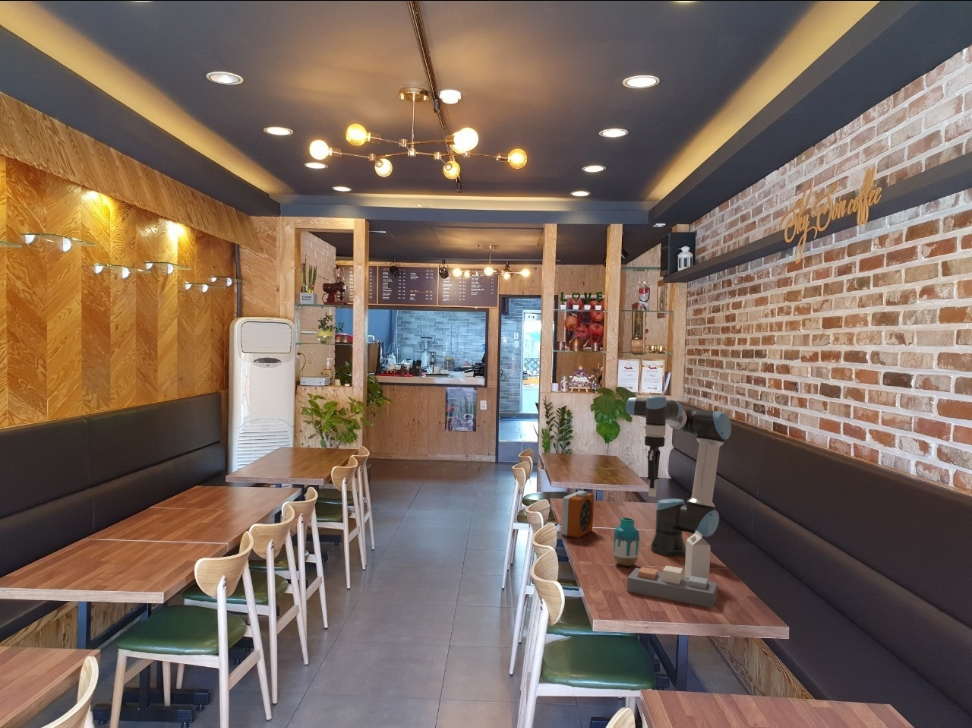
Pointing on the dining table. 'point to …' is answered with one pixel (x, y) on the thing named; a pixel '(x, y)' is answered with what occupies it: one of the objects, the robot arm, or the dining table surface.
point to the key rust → (648, 573)
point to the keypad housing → (672, 589)
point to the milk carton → (697, 556)
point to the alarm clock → (577, 514)
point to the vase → (626, 543)
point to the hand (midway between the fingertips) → (652, 496)
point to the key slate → (698, 582)
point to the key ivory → (672, 574)
